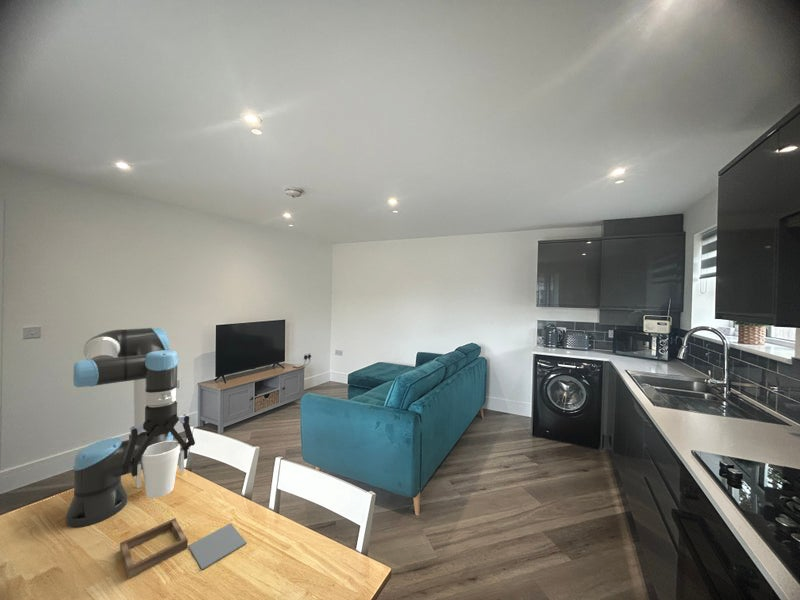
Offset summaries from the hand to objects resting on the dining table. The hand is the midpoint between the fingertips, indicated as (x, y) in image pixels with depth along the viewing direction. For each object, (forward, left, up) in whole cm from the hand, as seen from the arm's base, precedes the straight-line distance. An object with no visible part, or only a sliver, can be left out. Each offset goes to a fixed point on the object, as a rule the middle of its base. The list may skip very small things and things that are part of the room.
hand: (160, 477), depth 90 cm
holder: (-1, -1, -22) cm, 22 cm away
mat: (+11, +12, -22) cm, 27 cm away
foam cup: (0, 0, -4) cm, 4 cm away
